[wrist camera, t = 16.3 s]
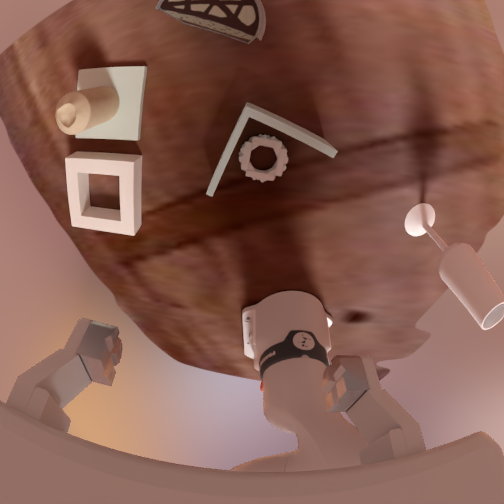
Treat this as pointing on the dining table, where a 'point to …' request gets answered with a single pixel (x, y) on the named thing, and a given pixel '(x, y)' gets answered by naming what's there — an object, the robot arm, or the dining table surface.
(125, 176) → the pocket block
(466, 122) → the dining table surface
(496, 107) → the dining table surface
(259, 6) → the food container
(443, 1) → the dining table surface
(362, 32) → the dining table surface
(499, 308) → the champagne flute
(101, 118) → the candle
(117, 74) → the cream tile
